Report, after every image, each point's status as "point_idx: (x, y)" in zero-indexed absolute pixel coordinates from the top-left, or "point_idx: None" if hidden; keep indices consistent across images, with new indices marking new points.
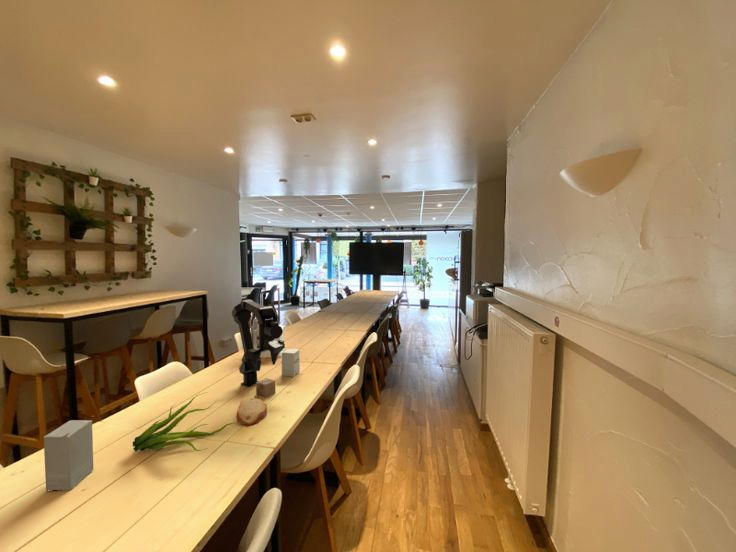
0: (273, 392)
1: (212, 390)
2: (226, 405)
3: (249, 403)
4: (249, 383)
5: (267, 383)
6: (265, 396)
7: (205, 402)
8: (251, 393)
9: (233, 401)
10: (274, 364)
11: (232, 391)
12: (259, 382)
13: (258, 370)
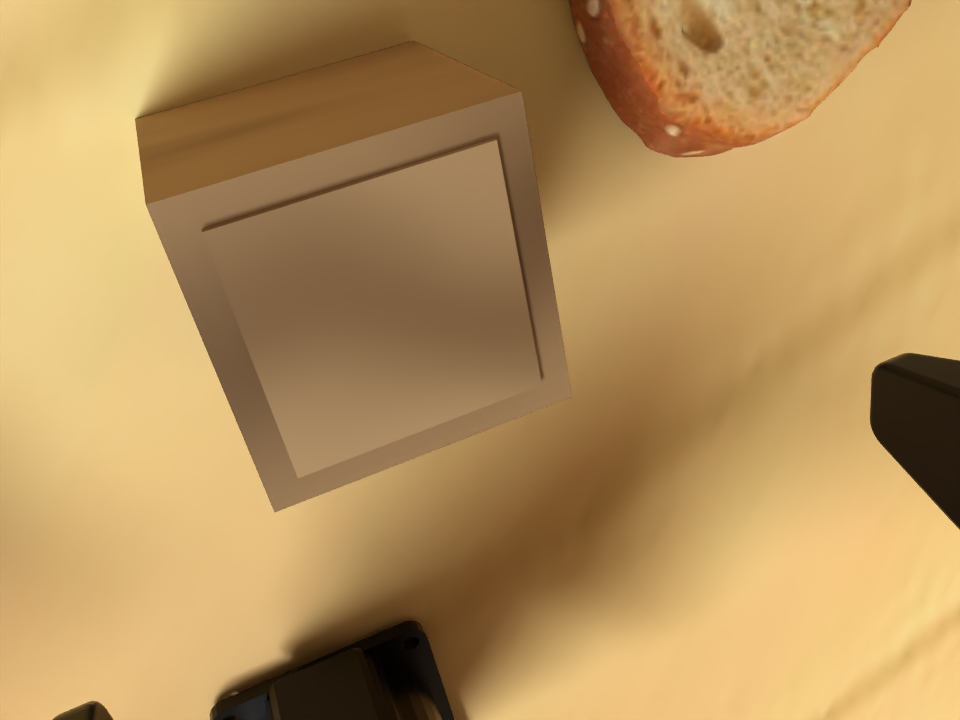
0: (195, 109)
1: (742, 706)
2: (890, 222)
3: None
4: (398, 685)
5: (419, 152)
6: (414, 46)
7: None
8: None
9: (782, 283)
10: (69, 713)
11: (629, 587)
12: (534, 332)
13: (914, 361)
